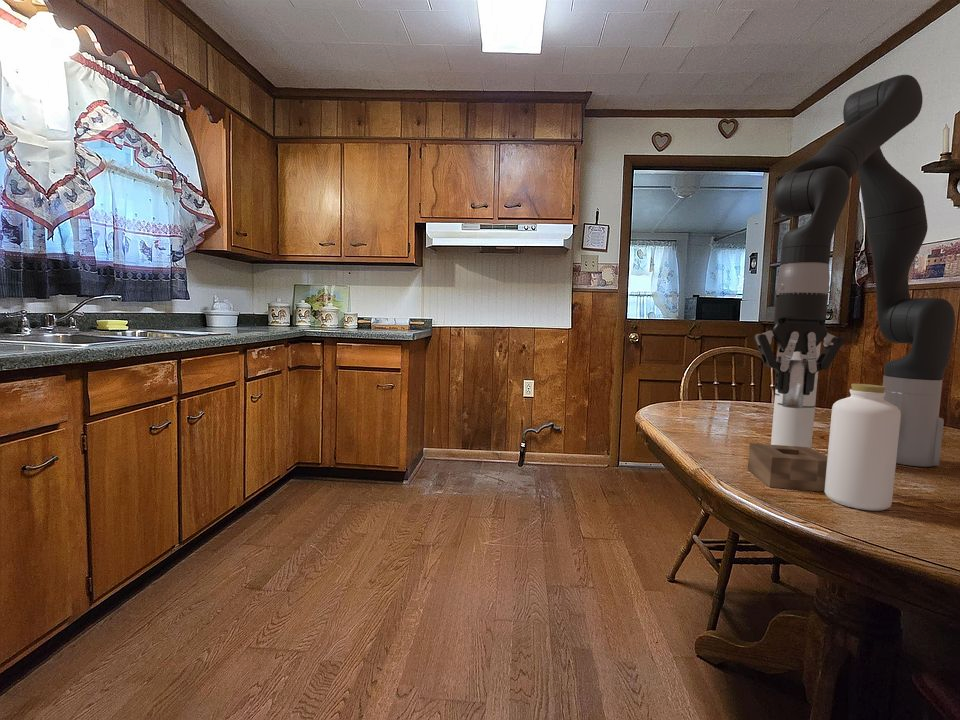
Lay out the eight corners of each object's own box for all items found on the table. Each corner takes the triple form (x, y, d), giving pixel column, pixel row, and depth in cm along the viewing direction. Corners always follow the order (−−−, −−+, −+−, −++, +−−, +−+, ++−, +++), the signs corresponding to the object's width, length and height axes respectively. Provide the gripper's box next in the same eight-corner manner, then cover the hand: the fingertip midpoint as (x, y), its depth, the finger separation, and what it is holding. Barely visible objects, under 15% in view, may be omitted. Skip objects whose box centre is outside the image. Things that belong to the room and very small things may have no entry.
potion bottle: (895, 517, 73) (908, 390, 72) (824, 504, 78) (835, 384, 76) (887, 501, 80) (899, 385, 79) (823, 490, 85) (833, 380, 83)
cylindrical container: (799, 453, 110) (809, 335, 108) (817, 462, 103) (829, 336, 101) (764, 450, 111) (773, 333, 109) (779, 459, 104) (790, 334, 102)
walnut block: (806, 474, 94) (808, 447, 93) (835, 492, 84) (838, 461, 83) (747, 470, 95) (749, 443, 95) (769, 487, 85) (772, 457, 85)
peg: (797, 406, 90) (801, 360, 90) (805, 408, 87) (809, 361, 87) (779, 404, 91) (782, 359, 90) (786, 407, 88) (790, 360, 87)
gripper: (836, 294, 90) (827, 393, 91) (749, 292, 92) (741, 388, 94) (860, 292, 83) (850, 399, 84) (765, 289, 85) (757, 394, 86)
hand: (793, 393), depth 89 cm, fingers closed on peg, 3 cm apart
